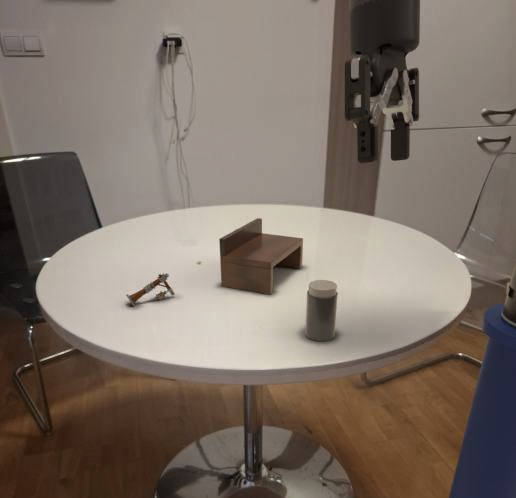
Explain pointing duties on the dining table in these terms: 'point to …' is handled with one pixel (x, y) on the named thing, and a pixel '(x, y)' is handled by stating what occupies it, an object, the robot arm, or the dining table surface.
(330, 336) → the salt shaker
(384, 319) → the dining table surface
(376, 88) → the robot arm
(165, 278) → the brown slender grey-tipped part
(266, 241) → the shelf
